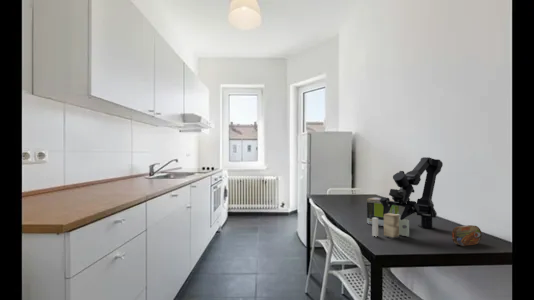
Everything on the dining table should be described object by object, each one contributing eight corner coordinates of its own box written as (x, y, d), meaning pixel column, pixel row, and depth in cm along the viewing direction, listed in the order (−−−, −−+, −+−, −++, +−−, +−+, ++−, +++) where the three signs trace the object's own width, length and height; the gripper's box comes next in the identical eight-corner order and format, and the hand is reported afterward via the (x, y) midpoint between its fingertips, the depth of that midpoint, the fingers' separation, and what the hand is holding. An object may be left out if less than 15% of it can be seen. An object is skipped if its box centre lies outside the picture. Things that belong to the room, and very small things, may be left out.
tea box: (399, 225, 173) (399, 199, 173) (392, 228, 166) (392, 201, 166) (374, 221, 184) (374, 196, 184) (366, 223, 177) (366, 198, 177)
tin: (456, 246, 133) (456, 227, 133) (450, 244, 136) (450, 225, 136) (482, 244, 137) (482, 225, 138) (475, 242, 140) (475, 223, 141)
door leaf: (387, 232, 155) (387, 217, 155) (390, 232, 157) (390, 216, 157) (406, 237, 147) (406, 220, 147) (409, 236, 149) (408, 219, 149)
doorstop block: (389, 235, 152) (389, 213, 152) (398, 237, 148) (398, 214, 148) (383, 236, 149) (383, 214, 149) (393, 238, 145) (393, 215, 145)
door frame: (397, 229, 163) (397, 212, 163) (400, 230, 161) (400, 213, 161) (372, 236, 150) (372, 217, 150) (375, 237, 148) (375, 218, 148)
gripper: (381, 181, 160) (368, 204, 153) (416, 184, 145) (403, 210, 138) (390, 195, 164) (378, 218, 158) (424, 199, 149) (412, 225, 143)
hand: (392, 217), depth 149 cm, fingers open, 9 cm apart
